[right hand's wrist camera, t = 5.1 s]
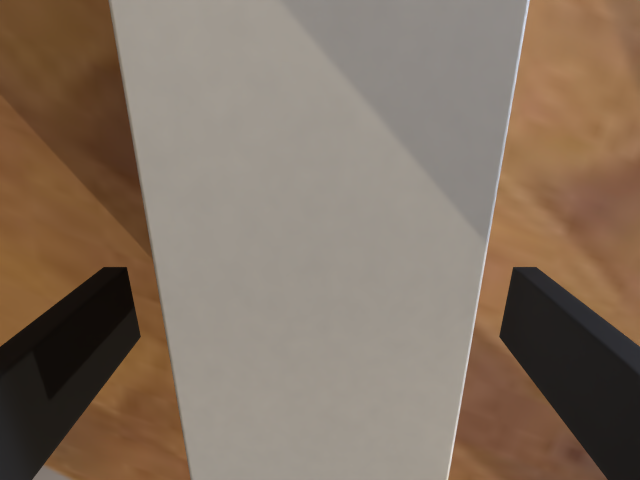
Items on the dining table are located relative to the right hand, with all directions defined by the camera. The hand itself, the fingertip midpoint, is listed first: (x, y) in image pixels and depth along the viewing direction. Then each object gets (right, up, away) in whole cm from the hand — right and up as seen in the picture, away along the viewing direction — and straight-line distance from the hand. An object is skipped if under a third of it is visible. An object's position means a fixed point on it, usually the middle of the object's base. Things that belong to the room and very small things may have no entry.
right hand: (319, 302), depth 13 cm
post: (0, +24, -6) cm, 25 cm away
